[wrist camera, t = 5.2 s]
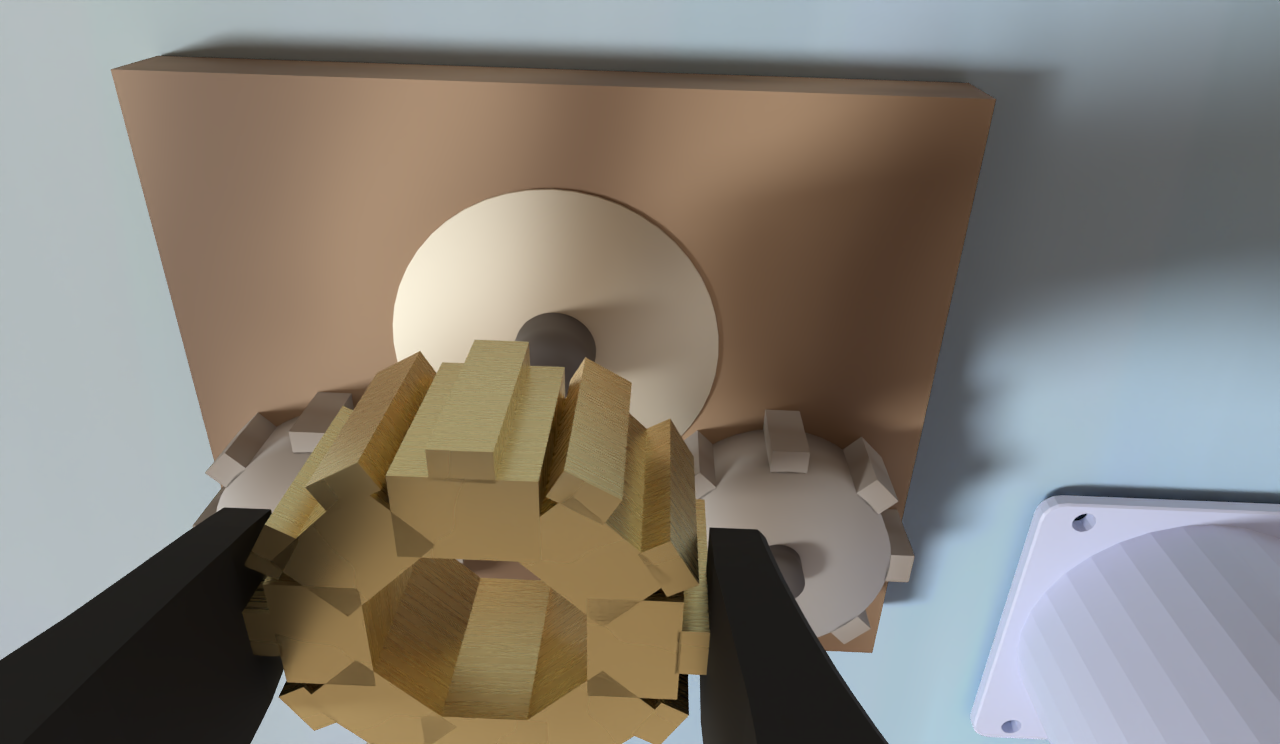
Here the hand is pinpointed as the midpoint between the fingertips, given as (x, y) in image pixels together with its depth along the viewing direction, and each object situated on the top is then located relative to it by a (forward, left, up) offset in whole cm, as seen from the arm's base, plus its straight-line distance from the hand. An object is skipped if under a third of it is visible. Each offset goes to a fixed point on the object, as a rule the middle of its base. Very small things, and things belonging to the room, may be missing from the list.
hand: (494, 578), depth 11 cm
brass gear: (0, 0, -1) cm, 1 cm away
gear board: (0, +2, -8) cm, 8 cm away
